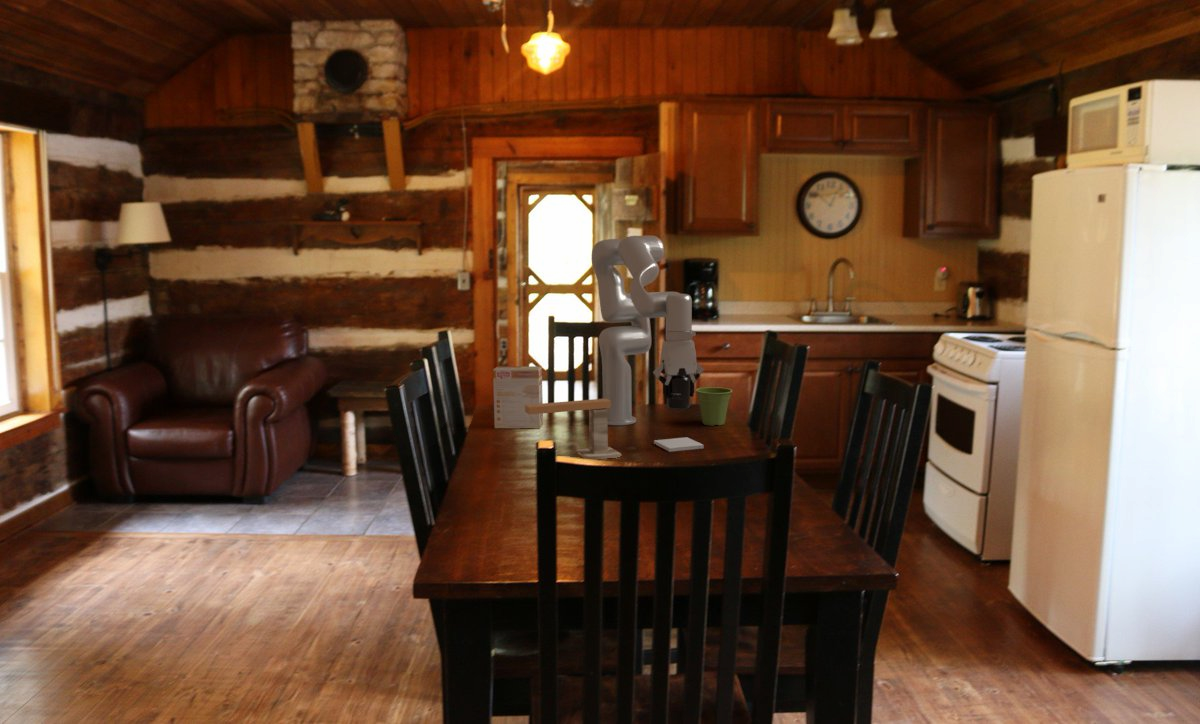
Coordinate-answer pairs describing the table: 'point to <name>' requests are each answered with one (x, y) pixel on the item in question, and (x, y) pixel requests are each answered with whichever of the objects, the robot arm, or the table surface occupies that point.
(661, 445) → the grey mat
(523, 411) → the coffeecake box
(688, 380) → the supplement bottle
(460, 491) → the table surface
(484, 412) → the table surface
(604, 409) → the stand
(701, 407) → the plant pot
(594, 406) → the strap bar
